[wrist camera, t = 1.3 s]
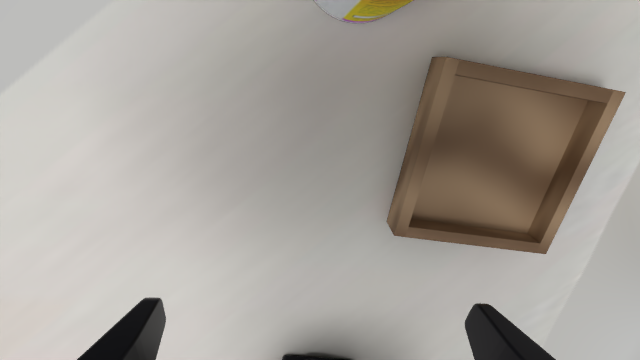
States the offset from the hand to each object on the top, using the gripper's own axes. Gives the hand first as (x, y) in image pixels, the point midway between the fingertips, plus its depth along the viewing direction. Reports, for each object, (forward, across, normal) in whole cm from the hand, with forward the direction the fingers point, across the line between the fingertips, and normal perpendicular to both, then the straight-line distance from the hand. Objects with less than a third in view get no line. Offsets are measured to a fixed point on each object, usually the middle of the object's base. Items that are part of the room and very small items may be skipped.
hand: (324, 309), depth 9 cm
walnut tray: (+13, -13, +1) cm, 18 cm away
